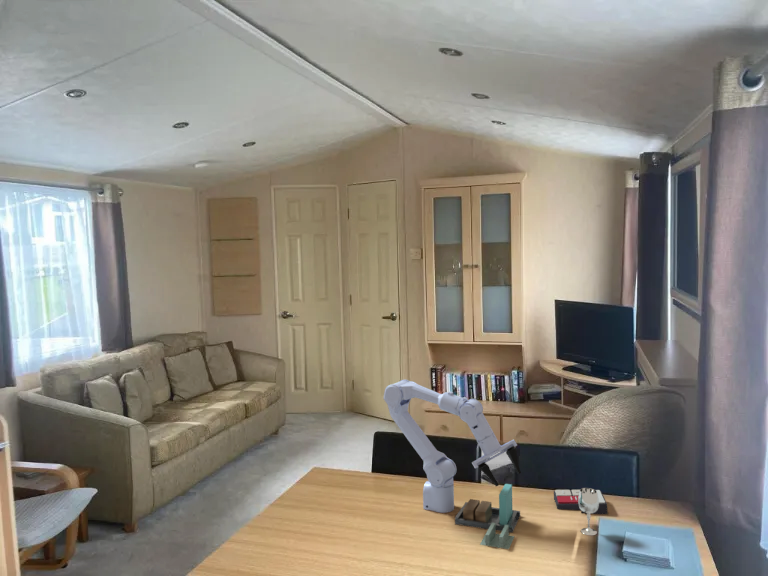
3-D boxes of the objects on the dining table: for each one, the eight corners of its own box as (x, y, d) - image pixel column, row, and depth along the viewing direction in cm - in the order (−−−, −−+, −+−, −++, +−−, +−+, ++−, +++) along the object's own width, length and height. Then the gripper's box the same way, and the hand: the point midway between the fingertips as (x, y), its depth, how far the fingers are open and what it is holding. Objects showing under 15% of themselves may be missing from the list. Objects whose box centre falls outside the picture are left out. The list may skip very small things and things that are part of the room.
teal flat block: (499, 528, 175) (498, 494, 174) (506, 516, 183) (505, 483, 183) (506, 529, 174) (505, 495, 174) (512, 516, 182) (511, 484, 182)
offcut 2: (475, 524, 178) (475, 510, 178) (482, 513, 185) (481, 500, 185) (485, 525, 177) (485, 512, 177) (491, 514, 184) (491, 501, 184)
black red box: (553, 488, 198) (600, 488, 195) (554, 501, 198) (601, 501, 195) (556, 501, 187) (607, 501, 184) (557, 515, 187) (608, 515, 184)
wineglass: (599, 528, 175) (598, 488, 174) (599, 537, 169) (599, 495, 169) (578, 526, 177) (577, 486, 176) (578, 535, 171) (577, 493, 171)
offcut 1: (463, 522, 180) (463, 509, 179) (470, 511, 187) (470, 499, 187) (473, 523, 178) (472, 510, 178) (479, 512, 186) (479, 500, 186)
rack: (455, 527, 179) (454, 517, 178) (466, 511, 190) (465, 502, 189) (512, 536, 172) (512, 525, 172) (520, 519, 183) (520, 509, 183)
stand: (479, 547, 165) (479, 533, 165) (486, 535, 173) (486, 521, 173) (508, 552, 162) (508, 538, 162) (514, 539, 170) (514, 525, 169)
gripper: (466, 449, 177) (489, 492, 174) (509, 425, 179) (532, 468, 176) (463, 449, 184) (485, 490, 181) (504, 426, 186) (526, 467, 183)
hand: (508, 479), depth 179 cm, fingers open, 7 cm apart
